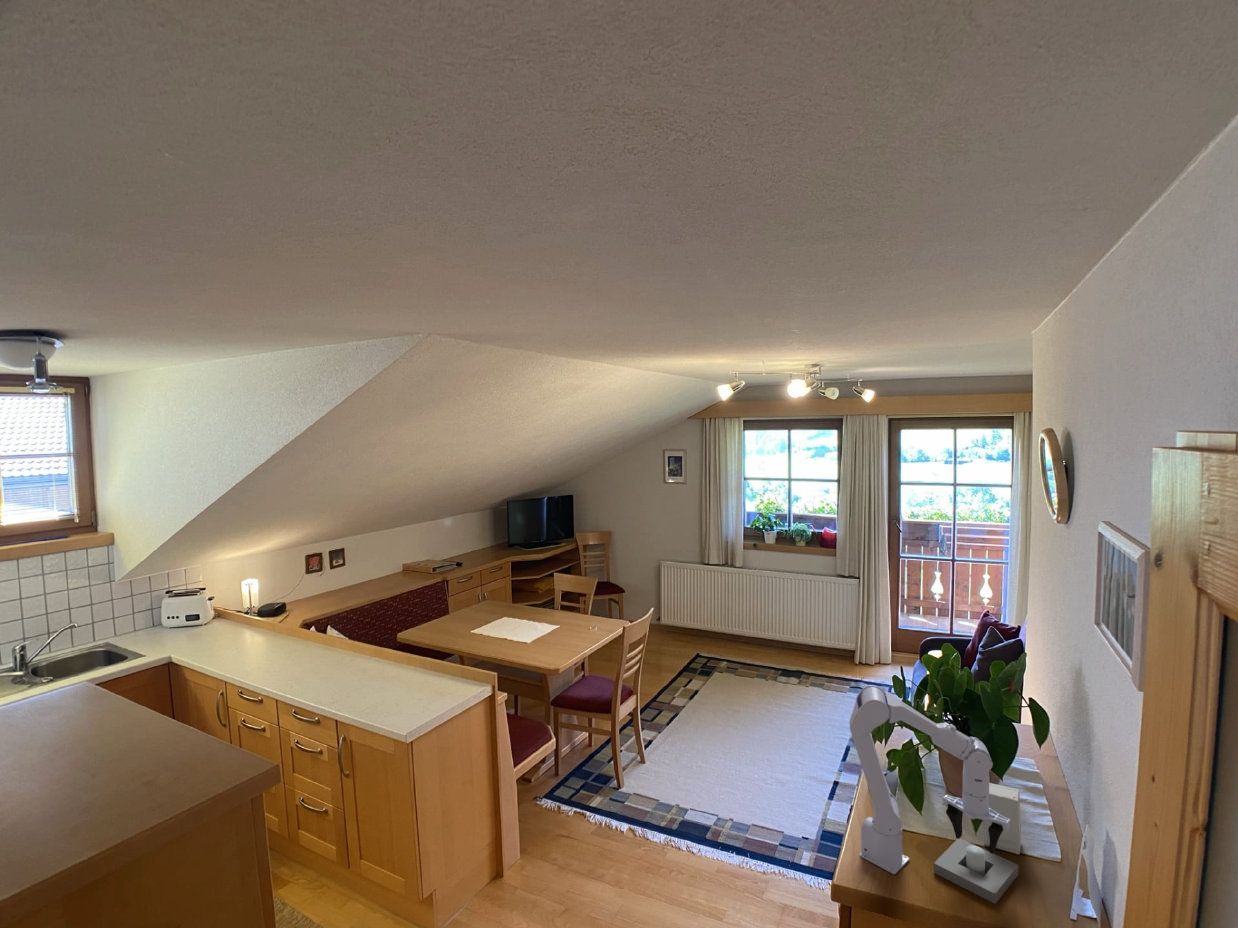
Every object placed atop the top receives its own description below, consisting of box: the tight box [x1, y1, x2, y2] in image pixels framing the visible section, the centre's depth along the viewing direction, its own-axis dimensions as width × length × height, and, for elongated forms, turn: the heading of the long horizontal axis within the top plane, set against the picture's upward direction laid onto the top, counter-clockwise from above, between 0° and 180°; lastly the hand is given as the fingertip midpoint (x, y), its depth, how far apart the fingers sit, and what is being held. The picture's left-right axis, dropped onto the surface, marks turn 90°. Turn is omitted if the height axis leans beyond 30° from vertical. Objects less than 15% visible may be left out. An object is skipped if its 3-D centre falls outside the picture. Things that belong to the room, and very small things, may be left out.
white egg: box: [965, 844, 986, 876], centre depth 159 cm, size 4×4×6 cm
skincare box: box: [982, 782, 1022, 855], centre depth 169 cm, size 8×6×15 cm
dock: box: [933, 837, 1019, 905], centre depth 160 cm, size 14×14×2 cm
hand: (975, 843), depth 159 cm, fingers open, 7 cm apart
